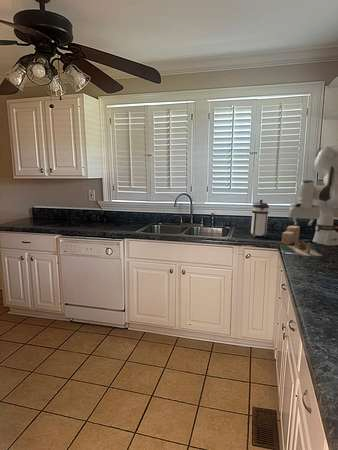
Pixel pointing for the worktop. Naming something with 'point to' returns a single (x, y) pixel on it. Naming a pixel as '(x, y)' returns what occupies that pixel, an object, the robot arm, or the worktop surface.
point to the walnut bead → (300, 245)
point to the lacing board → (306, 252)
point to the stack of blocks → (290, 235)
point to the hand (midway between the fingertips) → (302, 225)
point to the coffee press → (259, 219)
